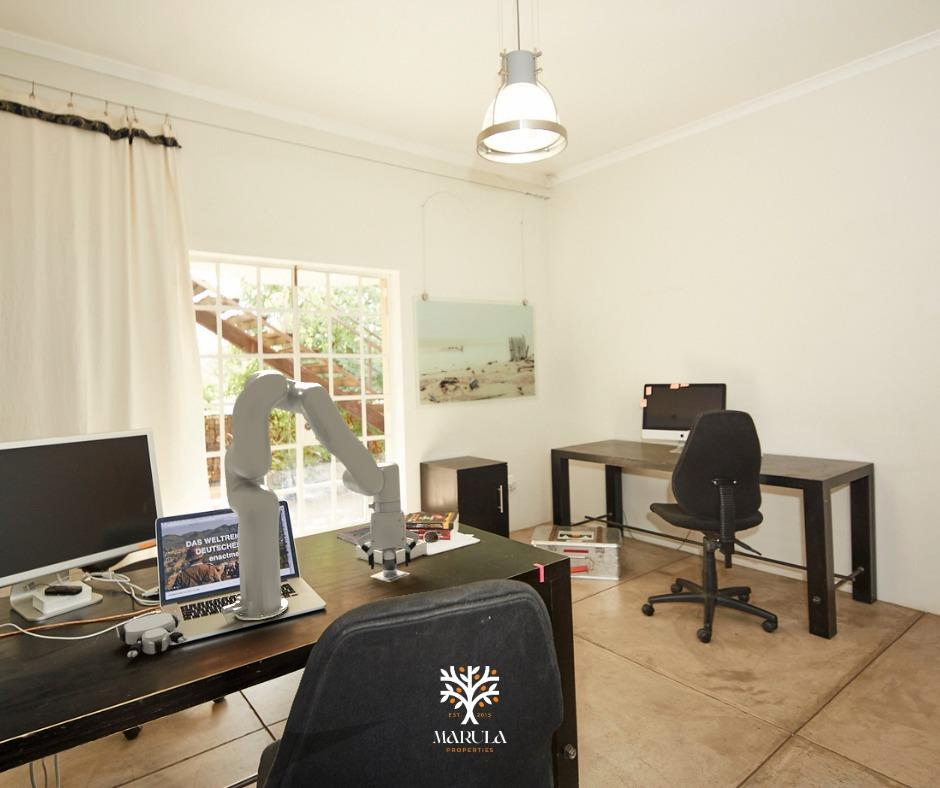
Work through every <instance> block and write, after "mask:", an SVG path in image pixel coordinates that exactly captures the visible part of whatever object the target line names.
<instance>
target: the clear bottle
mask: <svg viewBox="0 0 940 788" xmlns="http://www.w3.org/2000/svg"><path fill="white" fill-rule="evenodd" d="M381 551H382V564H381V566H382V571H383V576H384V577H394V576H396V575H397V570H398V564H397V557H396V551H397V548H388V549H382V550H381Z"/></svg>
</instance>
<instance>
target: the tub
mask: <svg viewBox="0 0 940 788" xmlns="http://www.w3.org/2000/svg"><path fill="white" fill-rule="evenodd" d="M413 539H414V538H412V537H411V538H410V537H407V543H408V544H409V545H410V543H411V542H412V541H413ZM365 545H367V546H368V547H370V546H371V545H370V542H368V543H365ZM405 551H406V550H405V549H404V548H403V547H401V548H400V550H396V557H397V565H398V564H399V565H400V564H401V563H404V562H405ZM427 551H428V549H427V541H426V540H420V539H418V542H417V544H416V546H415V547H414V548H413V549H412V550H411V552H410V560H412V559H414V558H417V557H420V556H422V555H425V554H426V555H427V554H428V552H427ZM373 553H374V564H375V563H376V564H380V565H382V549H375V550H374V551H373ZM355 559H361V560H363V561H368V555H367V553H366V552H365V551H363V550H362V548H361V546H360V545H356V546H355Z"/></svg>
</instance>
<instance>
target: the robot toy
mask: <svg viewBox="0 0 940 788" xmlns="http://www.w3.org/2000/svg"><path fill="white" fill-rule="evenodd" d="M179 623H181V621H180V618H179V616H178V613H177V610H175V609H174V614H171V612H161V613H155V614H149V615H148V614H147V615H145V616H141V617H139V618H136V619H135V618H134V619H133V620H131V621H128V622H127V623H125V624H123V627H122V628H121V629H120V631H119V629H118V625H116V624H115V630H116V633H117V639H120V641H122V642H123V643H126V644H127V645H131V646H130V647H129V649H128V650H129V651H128V653H127V657H128V658H134V657H135V658H136V656H138V655H139V654H140V653H141V651H142V652H143V653H145V654H147V655H154V654H156V653H159V652H164V651H166V650H167V648H168V647H169V646H170V642H171V641H172V642H171V643H174V644H179V643H180V644H182V643H184V642H186V641H188V637H187V636H184V634H183V633H182V632H179V631H176V629H177V628H178V626H179ZM175 628H176V629H175ZM173 631H174V632H173ZM171 632H173V633H171Z"/></svg>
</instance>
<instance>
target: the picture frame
mask: <svg viewBox="0 0 940 788" xmlns="http://www.w3.org/2000/svg"><path fill="white" fill-rule="evenodd" d="M369 532H370V524H369V525H364V526H361V527H356V528H352V529H347V530H343V531H338V532H336V538H338V537H339V538H338V539H340V538H342V539H341V540H343V539H344V540H343V541H345V540H347V541H346V542H348V541H349V542H348V543H350V542H352V543H351V544H353V543H354V544H353V545H355V544H356V546H358V545H359V543H358V539H359V538H360V537H362V536H364V535H365V534H367V533H369ZM368 542H370V538H369V539H367V540H365V541H364V543H368Z"/></svg>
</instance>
